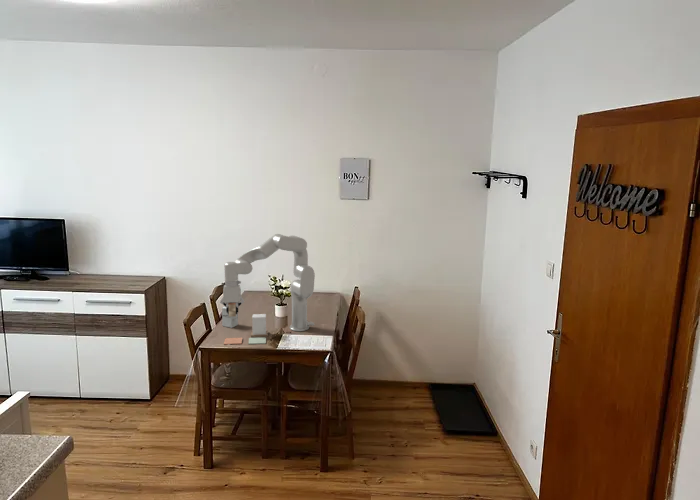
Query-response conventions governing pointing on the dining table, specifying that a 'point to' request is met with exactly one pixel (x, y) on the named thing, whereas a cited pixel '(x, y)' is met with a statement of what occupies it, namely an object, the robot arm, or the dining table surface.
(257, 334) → the mounted unit
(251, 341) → the sage pad
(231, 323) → the supplement box
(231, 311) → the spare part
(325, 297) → the dining table surface
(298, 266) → the robot arm
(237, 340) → the terracotta pad
